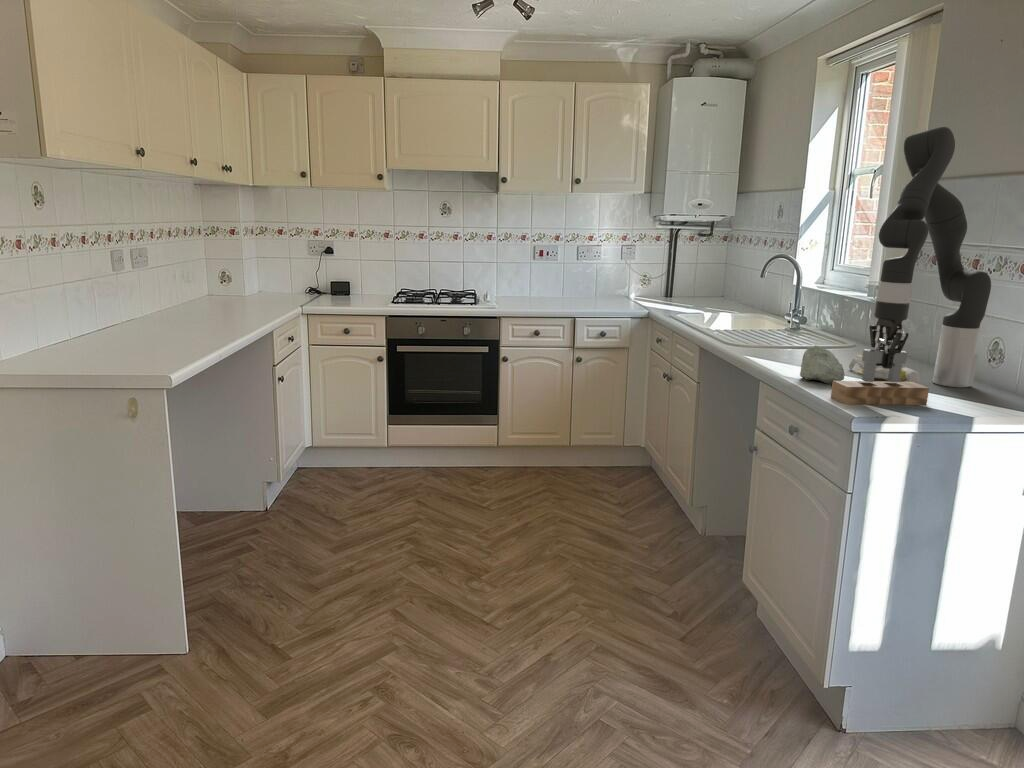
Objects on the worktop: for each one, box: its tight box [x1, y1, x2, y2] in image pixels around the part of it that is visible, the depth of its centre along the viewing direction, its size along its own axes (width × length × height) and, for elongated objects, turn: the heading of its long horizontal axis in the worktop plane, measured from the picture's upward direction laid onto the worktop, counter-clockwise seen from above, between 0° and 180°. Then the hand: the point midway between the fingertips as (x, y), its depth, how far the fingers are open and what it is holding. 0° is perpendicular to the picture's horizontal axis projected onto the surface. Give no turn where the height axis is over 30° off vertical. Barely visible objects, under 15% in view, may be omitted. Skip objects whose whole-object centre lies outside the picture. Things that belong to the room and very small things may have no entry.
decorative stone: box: [799, 344, 846, 385], centre depth 208 cm, size 14×11×10 cm
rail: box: [830, 380, 930, 406], centre depth 186 cm, size 22×7×4 cm, turn 94°
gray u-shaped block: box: [861, 348, 908, 382], centre depth 184 cm, size 10×3×8 cm, turn 94°
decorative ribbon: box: [848, 354, 921, 384], centre depth 212 cm, size 8×6×30 cm
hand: (882, 366), depth 185 cm, fingers closed on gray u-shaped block, 3 cm apart
